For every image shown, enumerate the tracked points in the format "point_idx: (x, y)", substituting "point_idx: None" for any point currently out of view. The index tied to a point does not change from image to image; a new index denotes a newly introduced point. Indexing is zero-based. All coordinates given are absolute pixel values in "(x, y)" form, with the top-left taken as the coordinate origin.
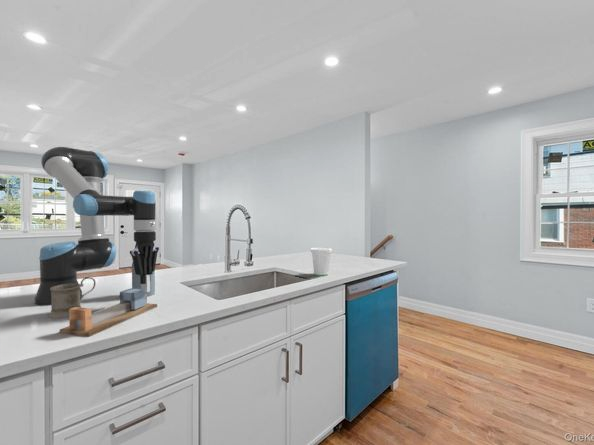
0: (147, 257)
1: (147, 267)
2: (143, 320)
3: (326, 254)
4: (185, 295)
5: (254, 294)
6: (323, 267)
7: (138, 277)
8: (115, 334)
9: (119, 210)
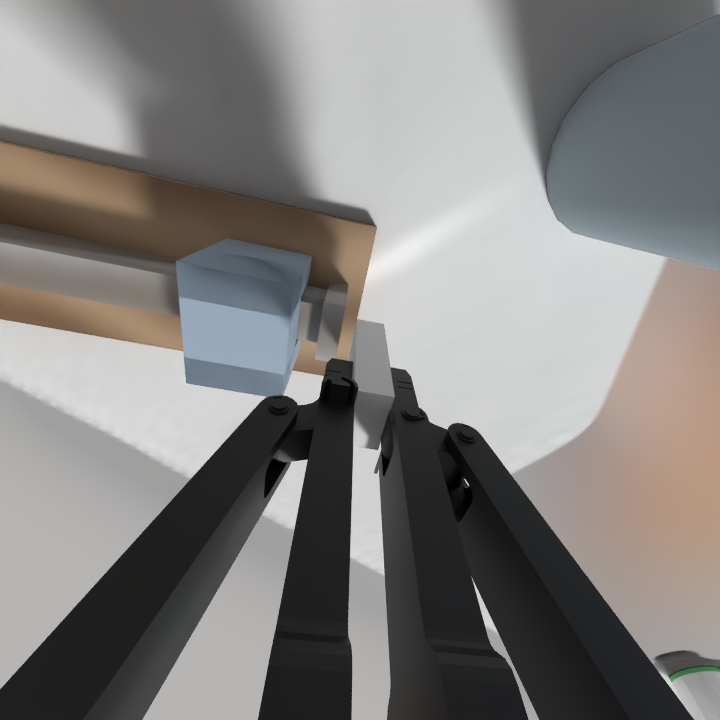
0: (401, 668)
1: (387, 496)
2: (177, 399)
3: None
4: (528, 415)
5: None
6: (692, 716)
7: (682, 147)
8: (30, 380)
9: None
